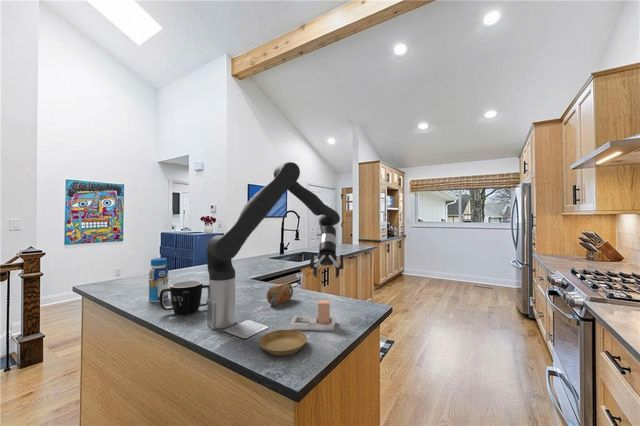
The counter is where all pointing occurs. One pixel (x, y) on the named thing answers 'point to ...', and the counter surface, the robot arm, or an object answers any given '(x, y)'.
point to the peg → (324, 311)
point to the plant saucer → (283, 342)
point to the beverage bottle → (158, 279)
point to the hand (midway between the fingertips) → (326, 276)
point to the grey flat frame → (311, 323)
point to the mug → (184, 297)
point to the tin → (279, 294)
